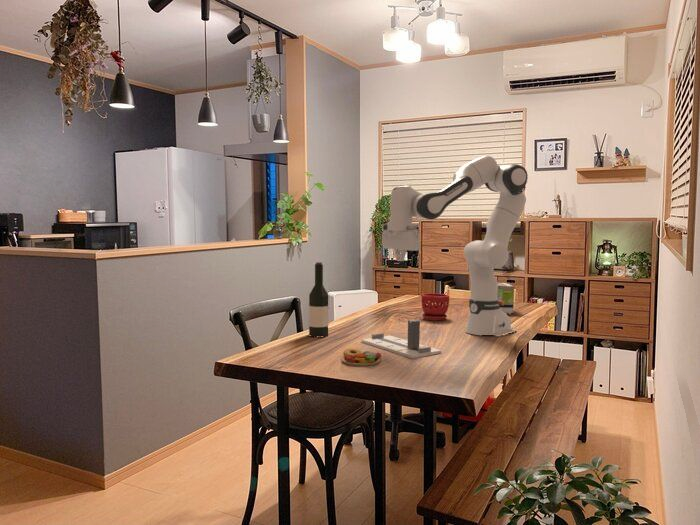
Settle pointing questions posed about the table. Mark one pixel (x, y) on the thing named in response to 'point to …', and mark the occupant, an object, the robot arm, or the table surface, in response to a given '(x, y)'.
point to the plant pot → (435, 306)
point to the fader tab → (413, 334)
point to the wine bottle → (318, 305)
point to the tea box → (506, 297)
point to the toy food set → (360, 357)
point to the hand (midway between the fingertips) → (400, 260)
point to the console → (399, 346)
